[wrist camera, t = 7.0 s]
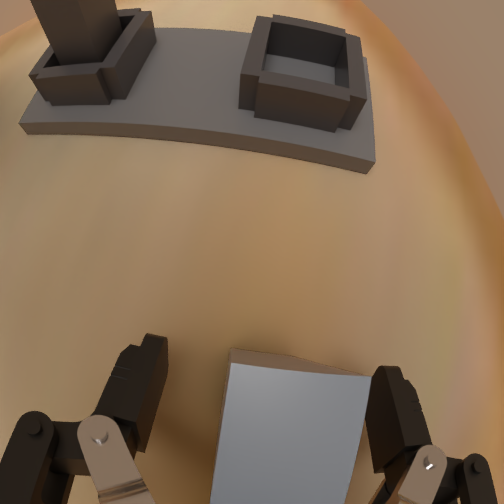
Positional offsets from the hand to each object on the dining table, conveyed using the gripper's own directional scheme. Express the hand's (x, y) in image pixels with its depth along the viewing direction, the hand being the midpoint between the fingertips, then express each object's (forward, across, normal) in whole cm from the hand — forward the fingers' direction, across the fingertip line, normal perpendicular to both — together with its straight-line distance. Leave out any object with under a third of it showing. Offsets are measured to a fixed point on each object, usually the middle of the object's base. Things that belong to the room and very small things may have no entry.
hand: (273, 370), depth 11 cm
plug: (+2, 0, +4) cm, 5 cm away
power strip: (+15, +7, -8) cm, 19 cm away
